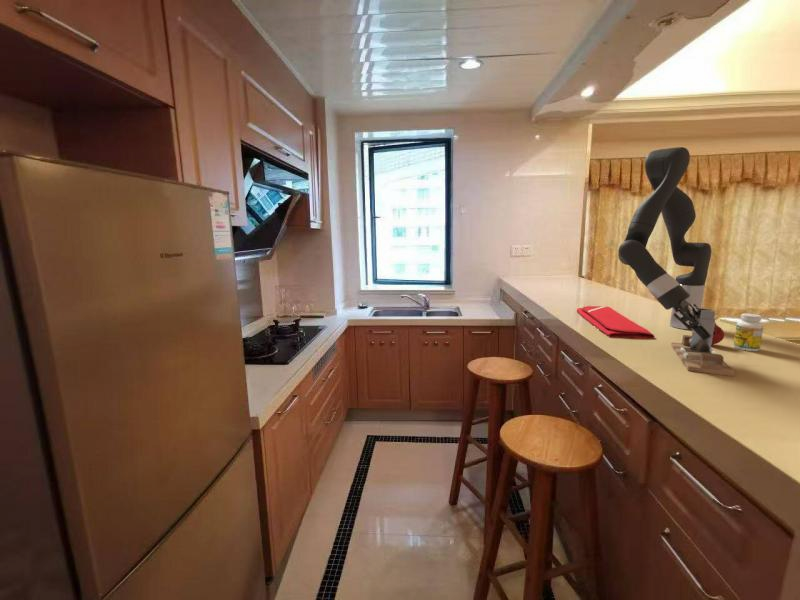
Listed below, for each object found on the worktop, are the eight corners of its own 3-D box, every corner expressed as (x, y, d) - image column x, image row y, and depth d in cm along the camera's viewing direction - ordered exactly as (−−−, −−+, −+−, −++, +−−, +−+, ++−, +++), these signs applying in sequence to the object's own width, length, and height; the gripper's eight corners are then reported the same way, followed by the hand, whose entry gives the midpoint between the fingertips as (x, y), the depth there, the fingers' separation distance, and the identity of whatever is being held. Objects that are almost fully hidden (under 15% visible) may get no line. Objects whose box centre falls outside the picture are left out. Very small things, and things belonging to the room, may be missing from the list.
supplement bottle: (765, 351, 117) (771, 317, 115) (746, 352, 117) (751, 317, 115) (746, 345, 123) (751, 312, 121) (727, 345, 123) (732, 313, 121)
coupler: (688, 346, 114) (693, 307, 112) (707, 348, 112) (714, 308, 109) (692, 351, 110) (698, 310, 107) (712, 353, 108) (719, 312, 105)
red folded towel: (607, 338, 135) (608, 328, 134) (575, 313, 175) (575, 305, 174) (654, 340, 132) (655, 330, 132) (611, 313, 172) (611, 306, 171)
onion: (726, 348, 121) (730, 324, 119) (706, 347, 122) (709, 324, 120) (715, 342, 126) (718, 320, 125) (696, 342, 127) (699, 319, 126)
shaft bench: (671, 345, 124) (673, 331, 123) (708, 349, 120) (710, 334, 119) (688, 370, 103) (690, 353, 102) (734, 376, 98) (737, 358, 98)
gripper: (670, 286, 108) (717, 334, 102) (685, 281, 117) (729, 325, 110) (648, 301, 114) (690, 348, 107) (664, 295, 122) (704, 338, 115)
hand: (710, 336), depth 108 cm, fingers closed on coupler, 4 cm apart
